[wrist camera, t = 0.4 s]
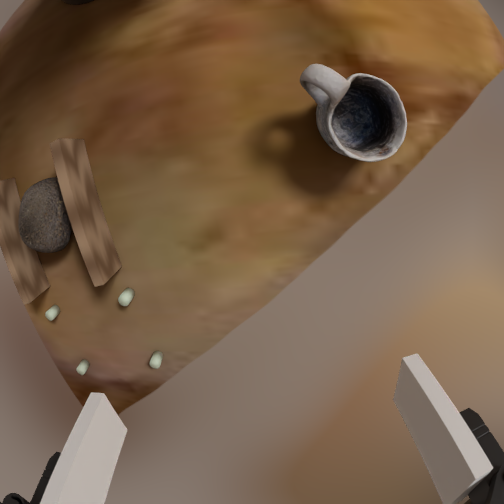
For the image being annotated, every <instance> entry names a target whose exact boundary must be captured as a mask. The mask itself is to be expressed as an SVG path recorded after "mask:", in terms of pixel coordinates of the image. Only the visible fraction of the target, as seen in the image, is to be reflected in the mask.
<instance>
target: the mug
mask: <svg viewBox="0 0 504 504" xmlns="http://www.w3.org/2000/svg"><path fill="white" fill-rule="evenodd" d="M300 83H301V85H302V87H303V88H304V89H305V90H306V91H307V92H308V93H309V94H310V95H311V96H312V97H313V99H314V100H315V101H316V103H317V104H318V105H317V109H316V121H317V126H318V129H319V132H320V134H321V136H322V137H323V139H324V140H325V142H326V143H327V144H328V145H329V146H330V147H331V148H332V149H333V150H334V151H336V152H338V153H340V154H342V155H344V156H348V157H350V158H354V159H357V160H361V161H366V162H375V161H380V160H384V159H387V158H389V157H391V156H392V155H394V154H395V153H396V152H397V149H398V148H399V147H400V146H401V144H402V143H403V141H404V139H405V134H406V129H407V120H406V112H405V109H404V106H403V103H402V101H401V100H400V97H399V95H398V93H397V92H396V90H395V89H394V88H393V87H392V86H391V85H390V84H388V83H387V82H385V81H384V80H382V79H380V78H377V77H374V76H372V75H368V74H361V73H359V74H354V75H351V76H350V77H348V78H347V79H345V78H344V77H342V76H341V75H340V74H338V73H337V72H335V71H334V70H332V69H331V68H328V67H326V66H324V65H320V64H312V65H310V66H308V67H307V68H306V69H305V70H304V71H303V73H302V74H301V77H300Z"/></svg>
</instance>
